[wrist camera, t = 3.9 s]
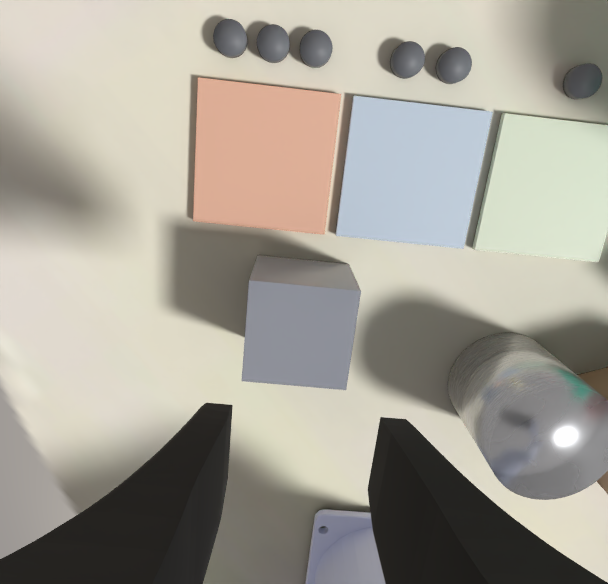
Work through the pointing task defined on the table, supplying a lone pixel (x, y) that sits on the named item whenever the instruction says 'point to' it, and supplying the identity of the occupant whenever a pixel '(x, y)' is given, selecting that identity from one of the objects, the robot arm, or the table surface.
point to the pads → (397, 160)
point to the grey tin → (530, 416)
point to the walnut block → (603, 383)
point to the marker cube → (300, 322)
